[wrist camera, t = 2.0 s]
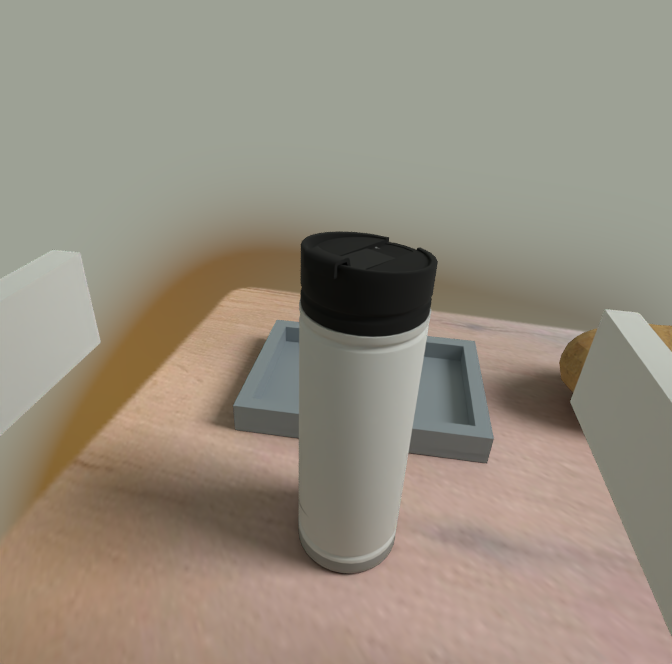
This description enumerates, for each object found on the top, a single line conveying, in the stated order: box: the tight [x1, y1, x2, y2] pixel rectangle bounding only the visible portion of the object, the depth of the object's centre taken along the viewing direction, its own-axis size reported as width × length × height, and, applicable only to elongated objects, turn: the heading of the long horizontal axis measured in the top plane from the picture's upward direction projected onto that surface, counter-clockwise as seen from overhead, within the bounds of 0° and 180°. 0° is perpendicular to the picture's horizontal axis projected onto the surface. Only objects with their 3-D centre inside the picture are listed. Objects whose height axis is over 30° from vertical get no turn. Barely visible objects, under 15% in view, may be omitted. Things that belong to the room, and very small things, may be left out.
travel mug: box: [299, 232, 438, 573], centre depth 27 cm, size 6×7×20 cm
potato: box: [559, 324, 672, 392], centre depth 42 cm, size 10×14×8 cm
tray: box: [233, 320, 494, 463], centre depth 44 cm, size 20×14×2 cm
